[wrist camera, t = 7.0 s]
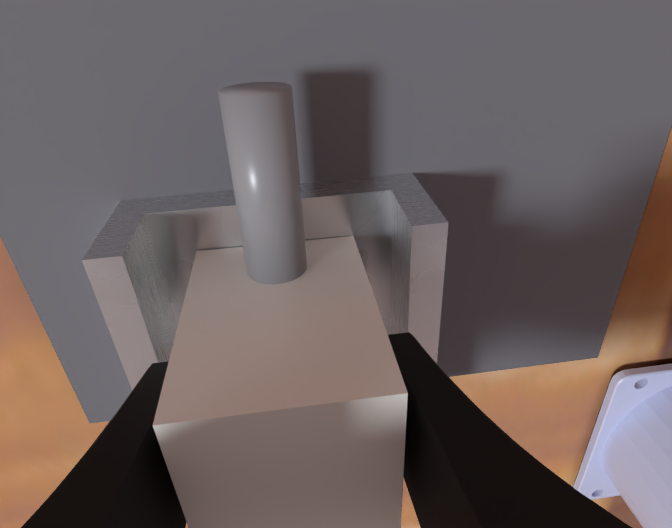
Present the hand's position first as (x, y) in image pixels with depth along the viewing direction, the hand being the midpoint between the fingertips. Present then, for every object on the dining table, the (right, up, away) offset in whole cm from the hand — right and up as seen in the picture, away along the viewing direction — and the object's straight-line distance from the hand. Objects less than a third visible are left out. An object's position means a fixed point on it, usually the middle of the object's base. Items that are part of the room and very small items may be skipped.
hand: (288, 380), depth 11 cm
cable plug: (0, +3, +1) cm, 4 cm away
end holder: (0, +1, +4) cm, 4 cm away
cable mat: (+1, +5, +2) cm, 5 cm away
